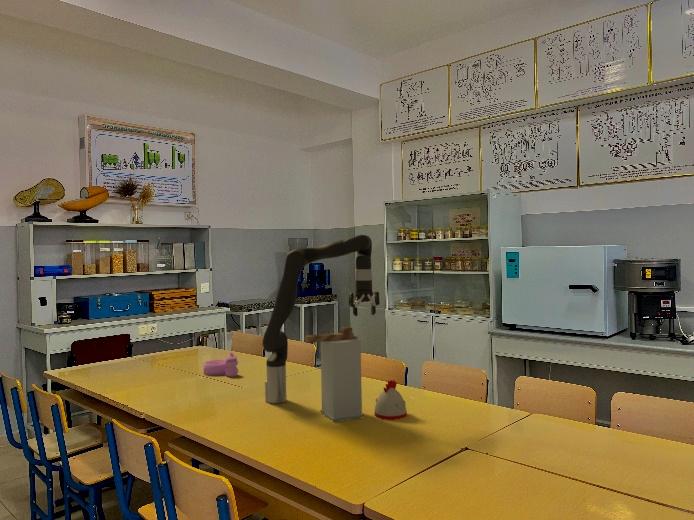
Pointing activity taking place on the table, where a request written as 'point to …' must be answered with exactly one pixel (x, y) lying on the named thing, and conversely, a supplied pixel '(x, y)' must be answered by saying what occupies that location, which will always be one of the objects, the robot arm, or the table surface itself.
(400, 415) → the white chicken figure
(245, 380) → the table surface
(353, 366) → the pedestal
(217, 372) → the pink rounded piece
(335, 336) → the brown wooden bar
